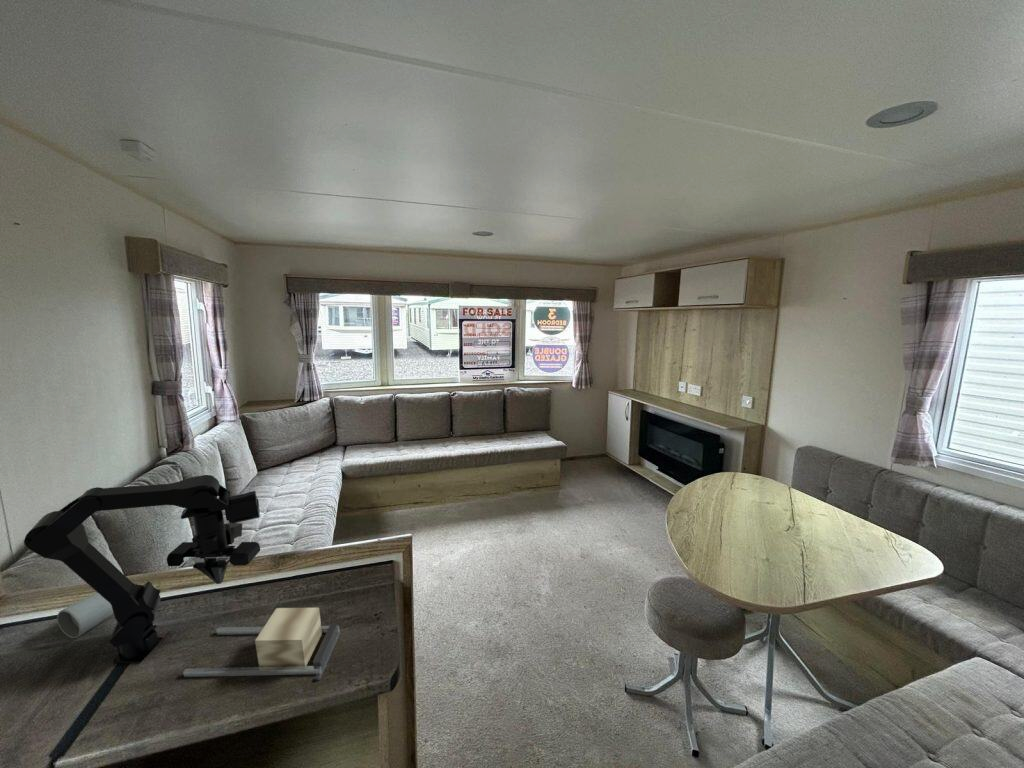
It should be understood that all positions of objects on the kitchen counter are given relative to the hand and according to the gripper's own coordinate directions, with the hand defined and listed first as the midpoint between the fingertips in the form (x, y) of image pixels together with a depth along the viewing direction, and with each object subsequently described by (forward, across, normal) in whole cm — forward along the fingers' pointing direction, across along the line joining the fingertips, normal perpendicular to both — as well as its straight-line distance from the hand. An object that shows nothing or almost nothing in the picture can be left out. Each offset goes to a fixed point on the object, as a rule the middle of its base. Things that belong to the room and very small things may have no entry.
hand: (219, 582), depth 100 cm
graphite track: (+12, -16, +10) cm, 22 cm away
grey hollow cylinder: (+12, +34, 0) cm, 36 cm away
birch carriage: (+11, -21, +10) cm, 26 cm away
